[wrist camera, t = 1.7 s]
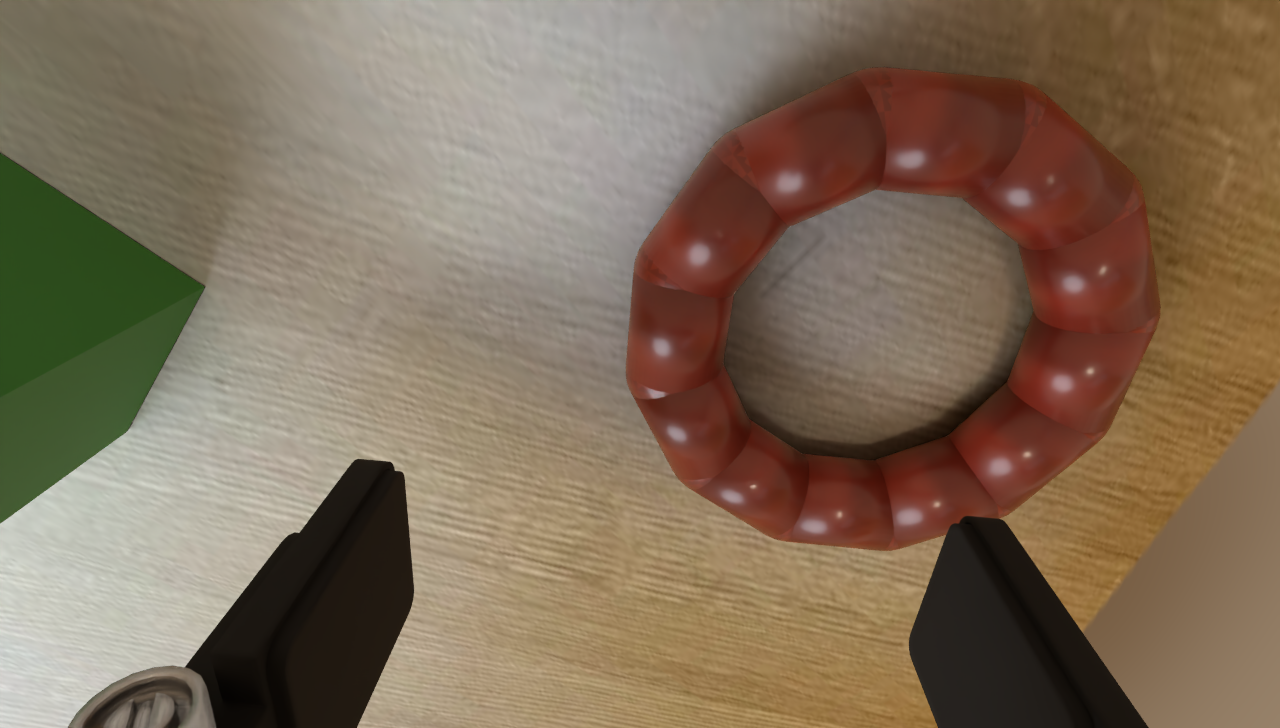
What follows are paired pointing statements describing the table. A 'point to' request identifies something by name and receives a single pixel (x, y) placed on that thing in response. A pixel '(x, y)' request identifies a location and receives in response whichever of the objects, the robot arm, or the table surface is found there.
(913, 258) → the table surface
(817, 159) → the ring
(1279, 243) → the table surface
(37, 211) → the hardback book
